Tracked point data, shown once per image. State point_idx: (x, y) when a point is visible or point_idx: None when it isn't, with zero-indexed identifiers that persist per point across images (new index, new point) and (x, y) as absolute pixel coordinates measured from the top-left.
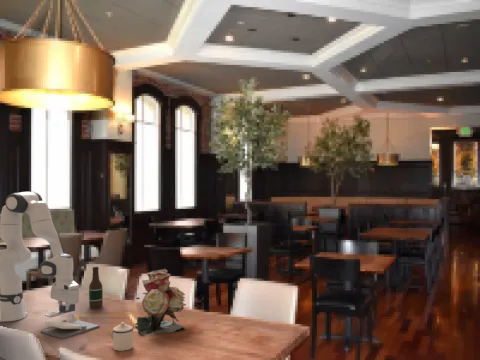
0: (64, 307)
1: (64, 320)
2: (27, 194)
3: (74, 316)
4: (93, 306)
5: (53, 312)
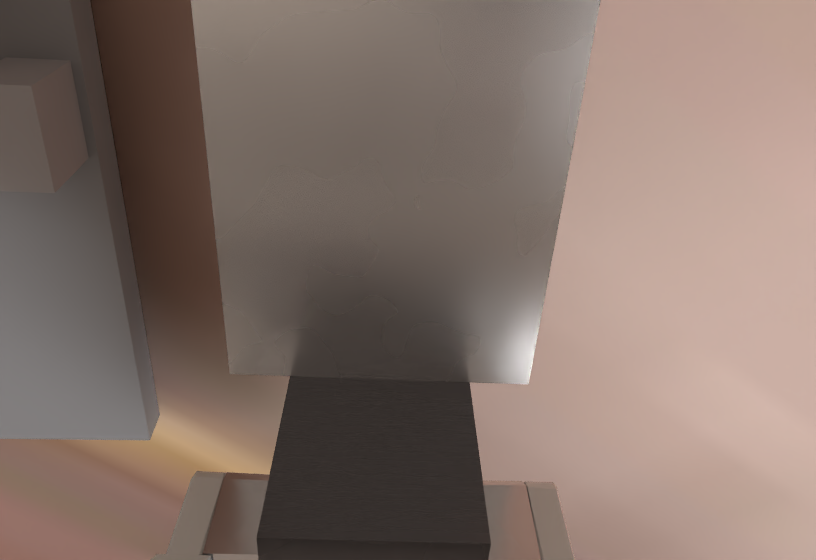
0: None
1: (43, 170)
2: None
3: None
4: None
5: (523, 216)
